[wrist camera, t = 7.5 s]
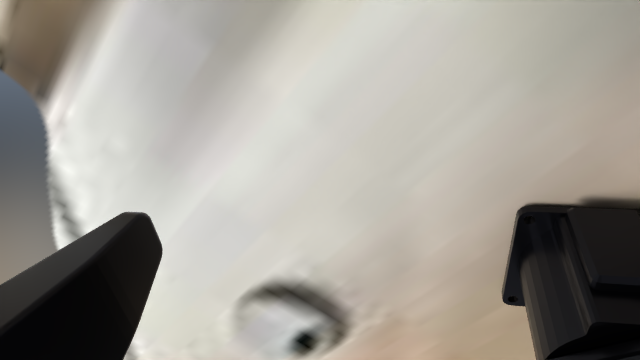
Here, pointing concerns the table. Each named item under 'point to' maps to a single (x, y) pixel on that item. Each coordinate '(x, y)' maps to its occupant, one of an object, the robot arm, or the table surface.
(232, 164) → the table surface
